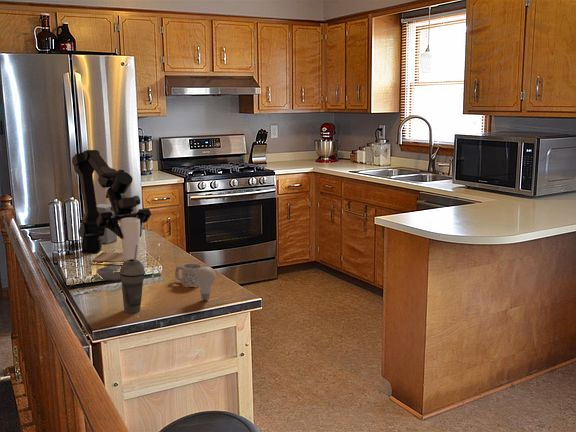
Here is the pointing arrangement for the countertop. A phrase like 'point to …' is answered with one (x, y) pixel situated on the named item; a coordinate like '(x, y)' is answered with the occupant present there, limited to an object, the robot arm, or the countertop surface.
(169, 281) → the countertop surface
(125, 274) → the beverage cup
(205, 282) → the lightbulb
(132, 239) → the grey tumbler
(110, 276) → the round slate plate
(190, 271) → the mug
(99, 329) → the countertop surface
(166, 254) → the countertop surface
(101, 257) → the square walnut board
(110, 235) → the skincare box
